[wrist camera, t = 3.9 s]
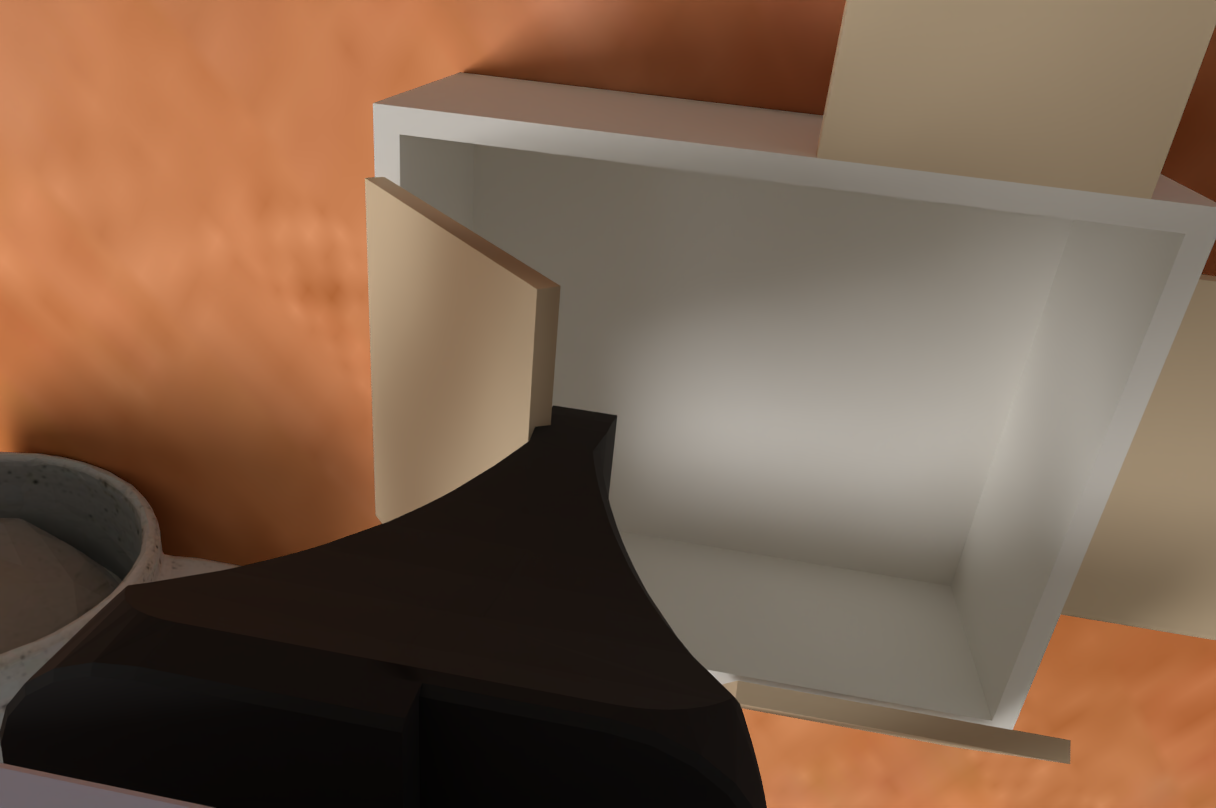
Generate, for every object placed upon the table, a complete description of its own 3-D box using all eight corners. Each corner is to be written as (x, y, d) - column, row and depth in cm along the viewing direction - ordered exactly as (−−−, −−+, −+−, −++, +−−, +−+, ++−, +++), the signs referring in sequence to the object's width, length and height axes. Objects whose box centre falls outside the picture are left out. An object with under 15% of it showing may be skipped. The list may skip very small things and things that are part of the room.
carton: (1538, -134, 13) (1855, -175, 9) (1166, 629, 20) (1263, 786, 16) (464, -227, 15) (362, -294, 11) (453, 510, 21) (386, 627, 18)
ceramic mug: (-17, 658, 26) (-280, 900, 20) (-65, 421, 23) (-410, 619, 16) (325, 740, 26) (178, 1016, 19) (335, 513, 22) (156, 756, 15)
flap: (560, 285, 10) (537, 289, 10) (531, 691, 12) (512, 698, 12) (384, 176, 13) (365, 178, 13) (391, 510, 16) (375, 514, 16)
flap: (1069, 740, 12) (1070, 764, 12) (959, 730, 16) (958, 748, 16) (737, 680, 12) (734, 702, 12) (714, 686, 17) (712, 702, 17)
